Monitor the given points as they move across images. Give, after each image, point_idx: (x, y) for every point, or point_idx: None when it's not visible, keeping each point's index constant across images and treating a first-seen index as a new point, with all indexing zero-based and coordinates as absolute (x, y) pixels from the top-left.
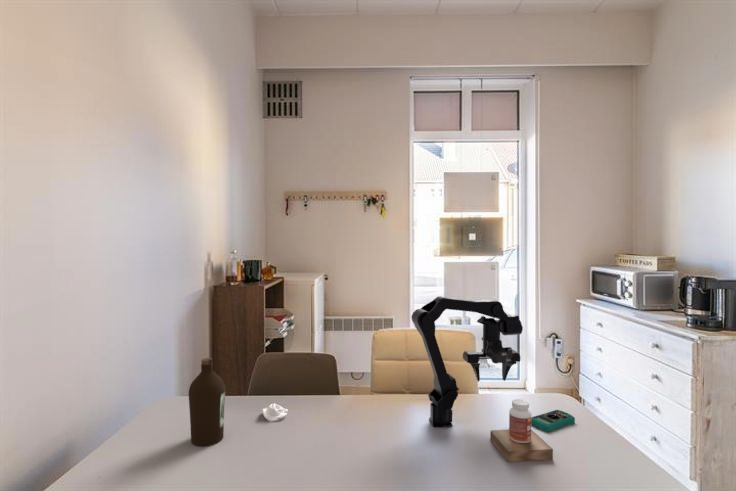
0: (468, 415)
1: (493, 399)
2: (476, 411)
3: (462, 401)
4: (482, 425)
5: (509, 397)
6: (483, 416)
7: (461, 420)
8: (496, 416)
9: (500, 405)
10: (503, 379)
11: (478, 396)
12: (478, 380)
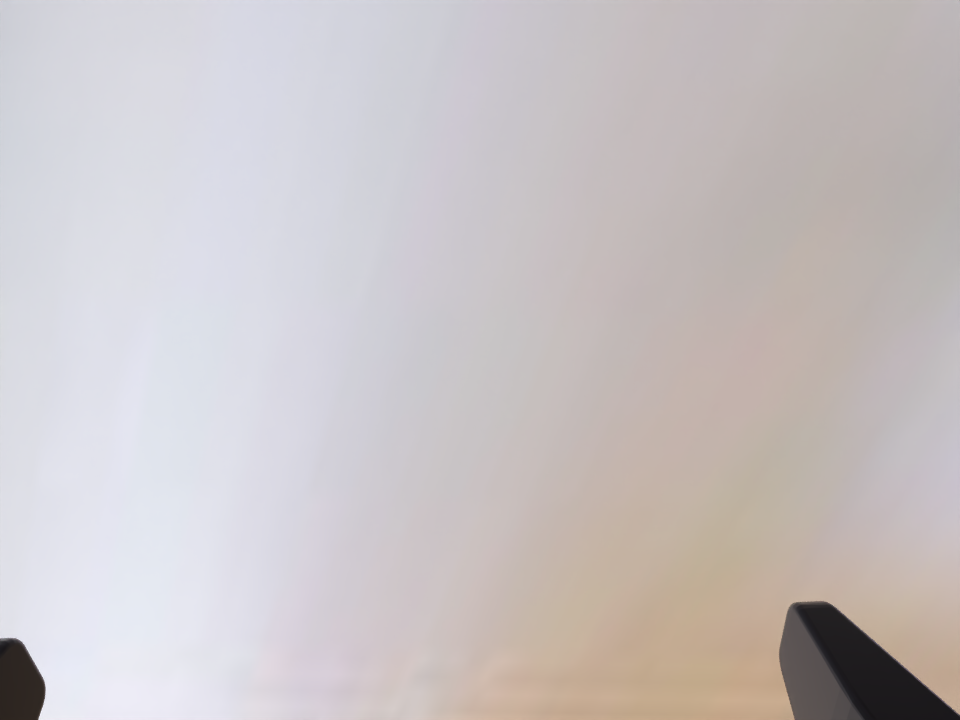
0: (696, 321)
1: (283, 650)
2: (556, 416)
3: (611, 623)
4: (642, 12)
5: (113, 681)
6: (523, 288)
7: (854, 186)
8: (360, 282)
9: (242, 537)
10: (17, 680)
11: (413, 704)
12: (842, 623)
